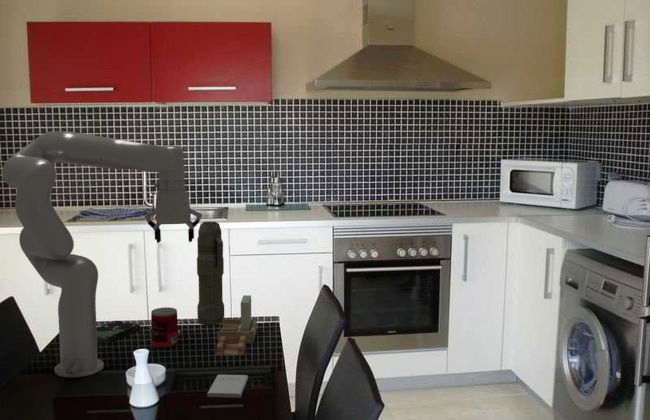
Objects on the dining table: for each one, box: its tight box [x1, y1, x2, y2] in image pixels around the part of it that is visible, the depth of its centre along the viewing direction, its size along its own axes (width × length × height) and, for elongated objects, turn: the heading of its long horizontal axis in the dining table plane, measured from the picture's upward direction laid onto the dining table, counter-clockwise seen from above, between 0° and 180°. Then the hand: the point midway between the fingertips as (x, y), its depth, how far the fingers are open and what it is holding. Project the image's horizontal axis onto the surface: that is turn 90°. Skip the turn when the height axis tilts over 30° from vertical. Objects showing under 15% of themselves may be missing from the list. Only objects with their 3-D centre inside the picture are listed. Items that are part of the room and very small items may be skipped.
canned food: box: [150, 306, 179, 349], centre depth 196 cm, size 8×8×11 cm
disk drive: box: [96, 320, 141, 344], centre depth 207 cm, size 10×3×15 cm
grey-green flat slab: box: [240, 295, 252, 331], centre depth 203 cm, size 9×2×12 cm, turn 2°
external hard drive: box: [206, 374, 249, 399], centre depth 165 cm, size 2×8×12 cm
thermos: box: [196, 221, 225, 326], centre depth 217 cm, size 9×12×35 cm
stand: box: [215, 336, 247, 356], centre depth 191 cm, size 10×8×4 cm
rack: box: [216, 318, 258, 345], centre depth 204 cm, size 14×11×4 cm
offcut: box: [221, 324, 236, 331], centre depth 200 cm, size 5×4×2 cm
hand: (174, 241), depth 199 cm, fingers open, 9 cm apart
